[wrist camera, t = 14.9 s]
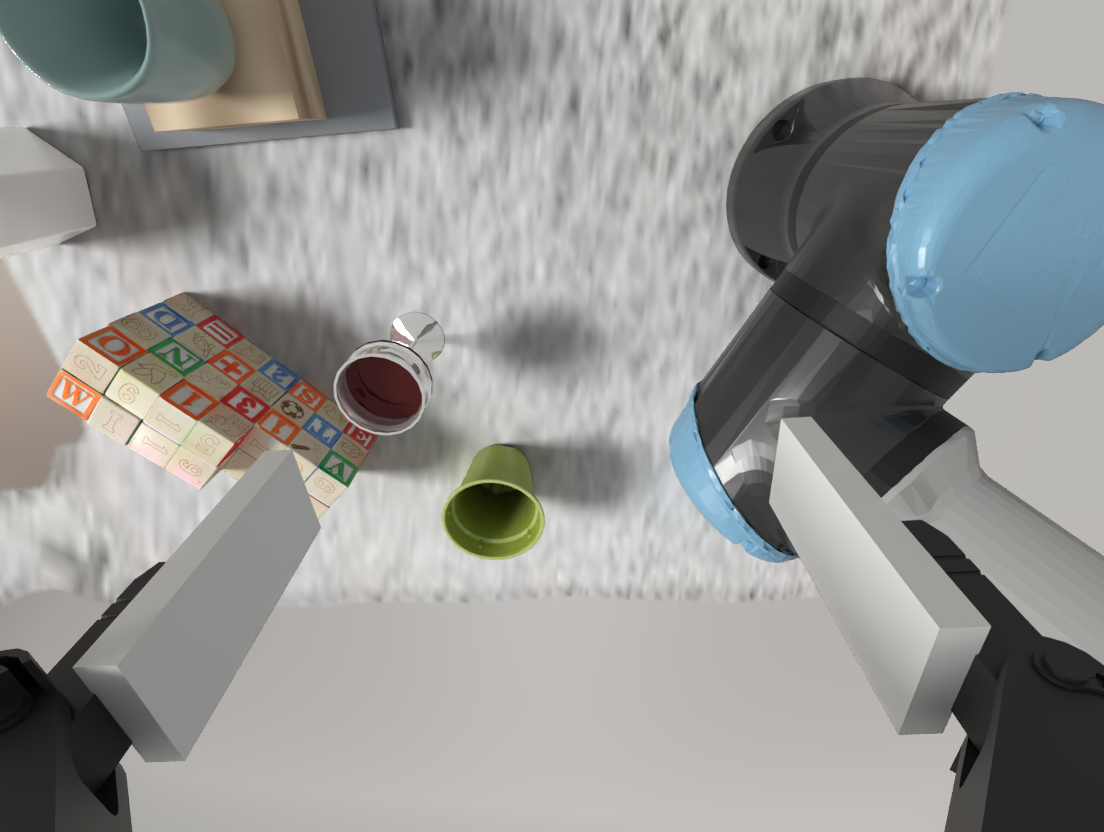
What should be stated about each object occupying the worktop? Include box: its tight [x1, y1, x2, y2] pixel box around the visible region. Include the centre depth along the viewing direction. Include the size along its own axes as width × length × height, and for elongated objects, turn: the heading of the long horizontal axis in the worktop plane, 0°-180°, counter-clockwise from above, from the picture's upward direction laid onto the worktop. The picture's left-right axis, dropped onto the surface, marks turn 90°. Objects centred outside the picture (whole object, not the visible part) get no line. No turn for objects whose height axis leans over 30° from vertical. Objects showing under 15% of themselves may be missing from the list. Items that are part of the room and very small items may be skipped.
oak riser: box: [144, 0, 327, 132], centre depth 36 cm, size 10×10×5 cm
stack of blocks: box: [47, 292, 377, 519], centre depth 47 cm, size 21×6×12 cm, turn 46°
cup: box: [0, 0, 236, 105], centre depth 29 cm, size 8×8×10 cm
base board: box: [122, 0, 399, 151], centre depth 39 cm, size 20×12×1 cm, turn 95°
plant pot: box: [442, 445, 545, 560], centre depth 53 cm, size 9×9×9 cm
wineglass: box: [333, 312, 444, 436], centre depth 44 cm, size 7×7×12 cm
